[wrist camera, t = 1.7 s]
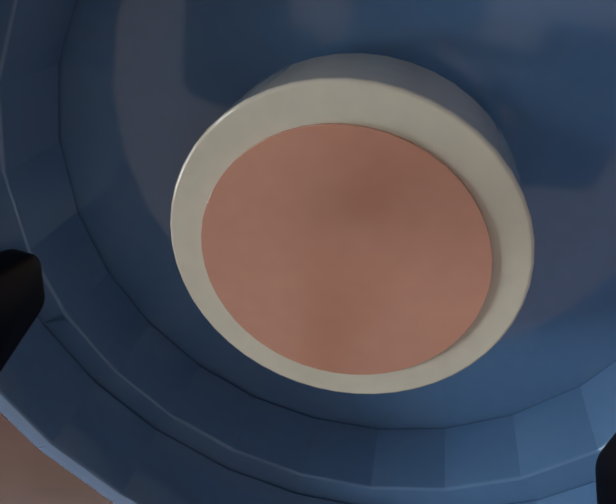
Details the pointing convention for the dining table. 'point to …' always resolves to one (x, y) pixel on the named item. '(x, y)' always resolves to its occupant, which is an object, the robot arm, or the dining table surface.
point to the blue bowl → (209, 342)
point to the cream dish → (355, 225)
